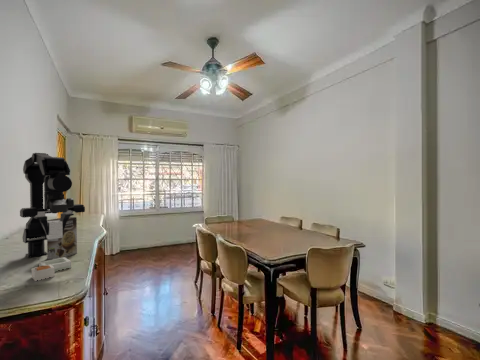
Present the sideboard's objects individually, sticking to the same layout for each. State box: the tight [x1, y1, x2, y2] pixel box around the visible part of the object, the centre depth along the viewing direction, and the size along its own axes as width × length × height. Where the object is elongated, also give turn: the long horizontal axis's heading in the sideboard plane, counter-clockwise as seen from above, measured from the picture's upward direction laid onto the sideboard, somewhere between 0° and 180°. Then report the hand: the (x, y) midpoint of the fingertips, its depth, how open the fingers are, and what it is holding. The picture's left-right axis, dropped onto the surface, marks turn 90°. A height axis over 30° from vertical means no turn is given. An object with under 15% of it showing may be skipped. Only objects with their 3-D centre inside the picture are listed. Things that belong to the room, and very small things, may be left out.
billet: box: [47, 220, 63, 240], centre depth 95 cm, size 4×4×6 cm
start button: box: [36, 265, 49, 271], centre depth 87 cm, size 3×3×2 cm
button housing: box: [31, 264, 56, 282], centre depth 87 cm, size 5×5×3 cm
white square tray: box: [38, 257, 72, 272], centre depth 96 cm, size 8×8×2 cm
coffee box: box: [46, 216, 78, 260], centre depth 111 cm, size 9×6×16 cm
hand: (54, 233), depth 96 cm, fingers closed on billet, 4 cm apart
